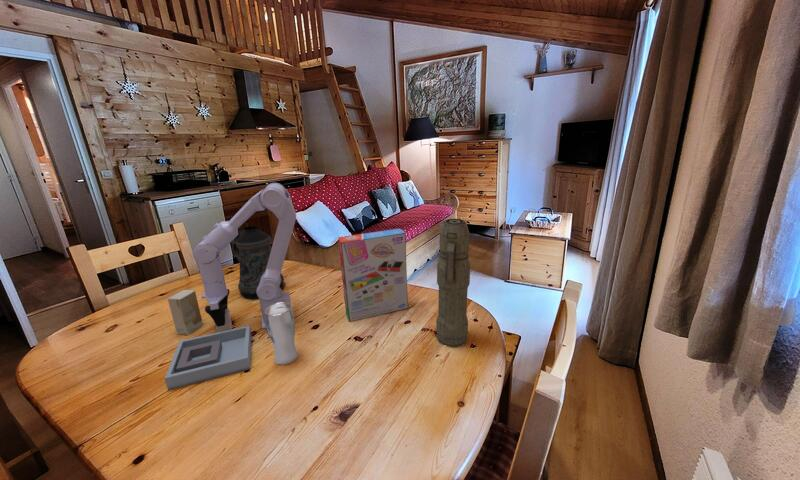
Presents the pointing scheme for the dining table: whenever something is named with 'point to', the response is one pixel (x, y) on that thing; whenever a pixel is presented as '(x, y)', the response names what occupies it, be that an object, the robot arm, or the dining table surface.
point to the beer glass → (281, 332)
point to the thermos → (453, 283)
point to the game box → (374, 273)
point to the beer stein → (252, 259)
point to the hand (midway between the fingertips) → (222, 319)
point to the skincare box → (185, 312)
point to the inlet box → (210, 357)
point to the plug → (227, 322)
